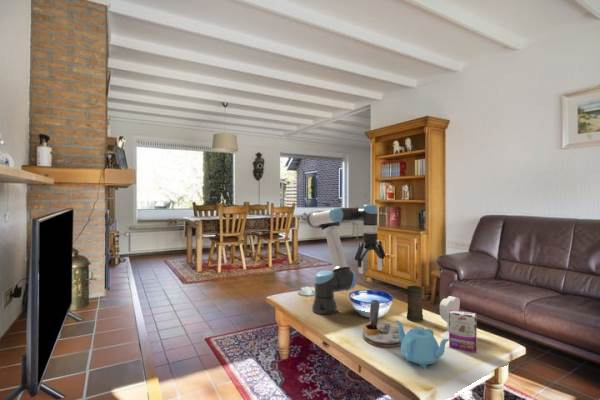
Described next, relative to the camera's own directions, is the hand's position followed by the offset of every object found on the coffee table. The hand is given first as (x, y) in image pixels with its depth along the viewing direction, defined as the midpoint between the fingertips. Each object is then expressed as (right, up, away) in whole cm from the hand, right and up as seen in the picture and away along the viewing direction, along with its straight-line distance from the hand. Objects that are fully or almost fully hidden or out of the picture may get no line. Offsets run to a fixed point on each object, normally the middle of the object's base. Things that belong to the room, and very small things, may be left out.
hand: (370, 271), depth 179 cm
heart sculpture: (+38, -29, -12) cm, 49 cm away
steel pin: (-3, -25, -18) cm, 31 cm away
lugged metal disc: (+3, -28, -18) cm, 33 cm away
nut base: (+3, -29, -18) cm, 34 cm away
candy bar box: (+36, -29, -28) cm, 55 cm away
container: (+27, -29, +7) cm, 40 cm away
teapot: (+13, -30, -39) cm, 51 cm away
